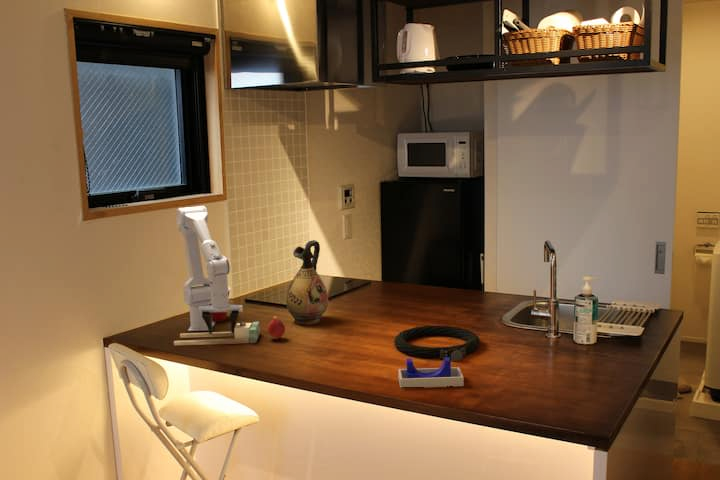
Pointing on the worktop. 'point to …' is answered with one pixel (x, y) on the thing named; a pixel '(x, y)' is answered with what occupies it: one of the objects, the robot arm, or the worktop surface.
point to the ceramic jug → (307, 288)
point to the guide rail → (253, 334)
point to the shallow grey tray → (431, 379)
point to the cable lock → (437, 352)
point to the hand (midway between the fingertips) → (222, 332)
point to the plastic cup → (219, 313)
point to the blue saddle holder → (441, 372)
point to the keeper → (242, 330)
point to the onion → (276, 328)
